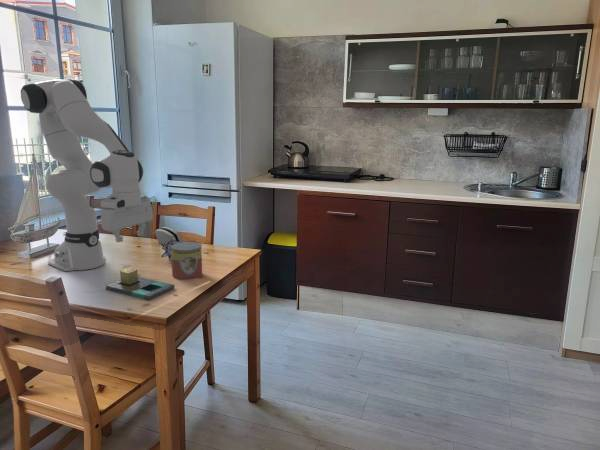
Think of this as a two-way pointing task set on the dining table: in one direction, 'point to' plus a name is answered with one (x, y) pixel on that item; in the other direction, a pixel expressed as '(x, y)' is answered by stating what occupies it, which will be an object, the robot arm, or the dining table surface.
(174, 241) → the passion flower
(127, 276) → the brass peg
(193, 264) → the canned food
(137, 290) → the peg hole board
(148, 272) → the dining table surface
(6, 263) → the dining table surface
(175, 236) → the grey curved piece
